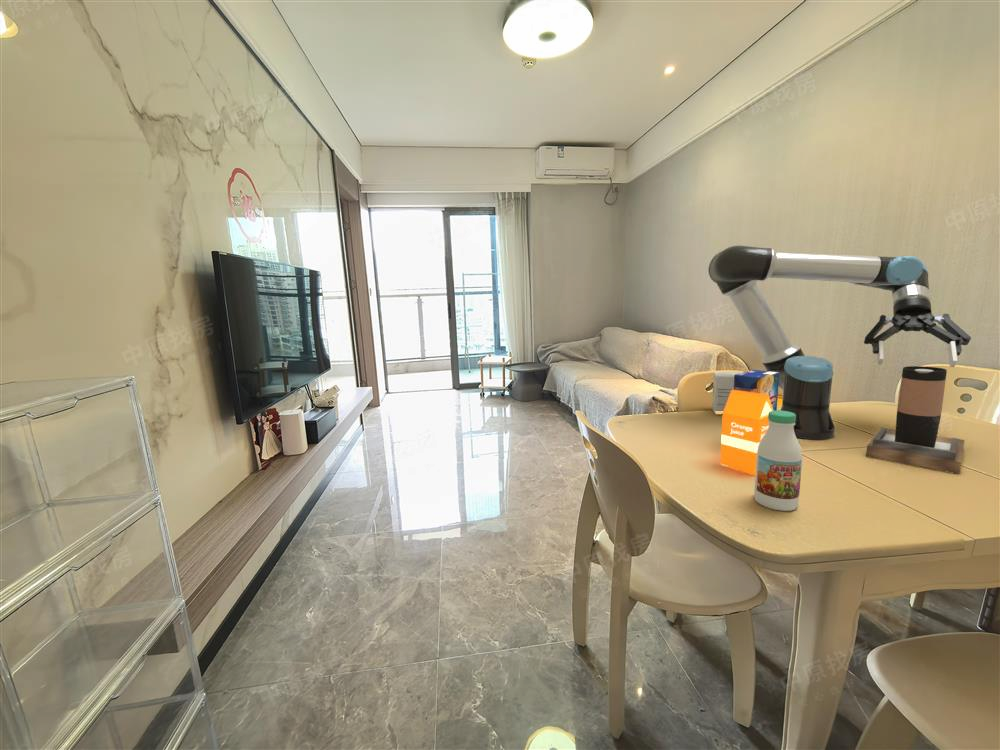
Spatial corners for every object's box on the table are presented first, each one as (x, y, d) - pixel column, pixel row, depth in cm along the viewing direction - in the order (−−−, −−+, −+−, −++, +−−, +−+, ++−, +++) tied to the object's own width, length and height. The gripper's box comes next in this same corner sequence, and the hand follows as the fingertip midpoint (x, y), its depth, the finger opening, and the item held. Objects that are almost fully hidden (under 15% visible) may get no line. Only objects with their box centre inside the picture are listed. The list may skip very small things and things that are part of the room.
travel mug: (916, 438, 103) (926, 365, 100) (945, 449, 96) (957, 370, 92) (884, 439, 104) (893, 366, 101) (911, 450, 97) (922, 371, 93)
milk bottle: (745, 495, 86) (750, 409, 82) (778, 492, 86) (784, 406, 83) (772, 513, 78) (779, 419, 75) (808, 510, 79) (816, 416, 75)
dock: (865, 456, 102) (868, 438, 101) (880, 434, 116) (882, 418, 115) (959, 474, 90) (962, 453, 89) (963, 447, 104) (966, 429, 103)
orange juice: (755, 476, 95) (760, 397, 91) (719, 465, 102) (722, 391, 99) (771, 467, 99) (776, 392, 95) (735, 457, 106) (738, 387, 103)
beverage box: (774, 446, 112) (779, 372, 109) (756, 455, 107) (761, 377, 103) (749, 440, 118) (753, 369, 114) (730, 448, 112) (734, 374, 108)
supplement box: (711, 408, 153) (713, 371, 150) (738, 410, 149) (740, 372, 146) (714, 415, 144) (715, 376, 142) (742, 416, 141) (744, 376, 138)
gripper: (972, 311, 108) (982, 373, 99) (852, 314, 123) (851, 368, 114) (982, 292, 103) (993, 356, 94) (855, 298, 118) (855, 353, 109)
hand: (915, 363), depth 104 cm, fingers open, 13 cm apart
